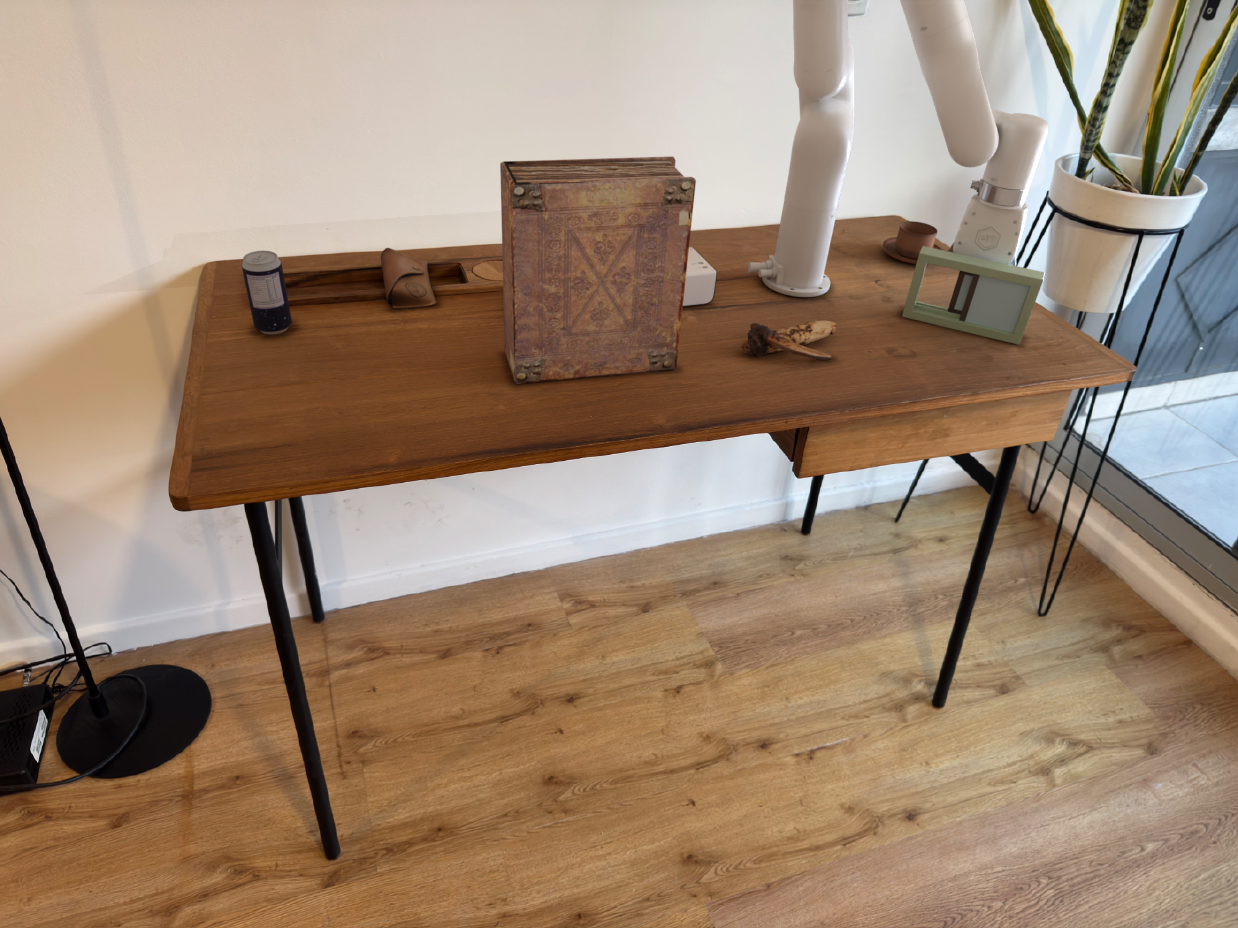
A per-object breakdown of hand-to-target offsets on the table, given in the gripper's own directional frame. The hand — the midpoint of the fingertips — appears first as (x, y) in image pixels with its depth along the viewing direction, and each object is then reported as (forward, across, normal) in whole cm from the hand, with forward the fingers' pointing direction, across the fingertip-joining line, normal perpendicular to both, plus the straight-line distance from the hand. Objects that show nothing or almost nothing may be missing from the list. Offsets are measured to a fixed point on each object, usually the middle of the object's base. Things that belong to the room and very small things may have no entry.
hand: (970, 293), depth 158 cm
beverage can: (+4, -98, -68) cm, 120 cm away
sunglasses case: (+4, -90, -44) cm, 100 cm away
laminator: (+4, -57, -30) cm, 65 cm away
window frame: (+3, 0, -7) cm, 8 cm away
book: (+4, -50, -52) cm, 73 cm away
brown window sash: (+2, +2, -3) cm, 4 cm away
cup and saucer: (+4, -13, +20) cm, 24 cm away
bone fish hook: (+4, -23, -32) cm, 39 cm away
